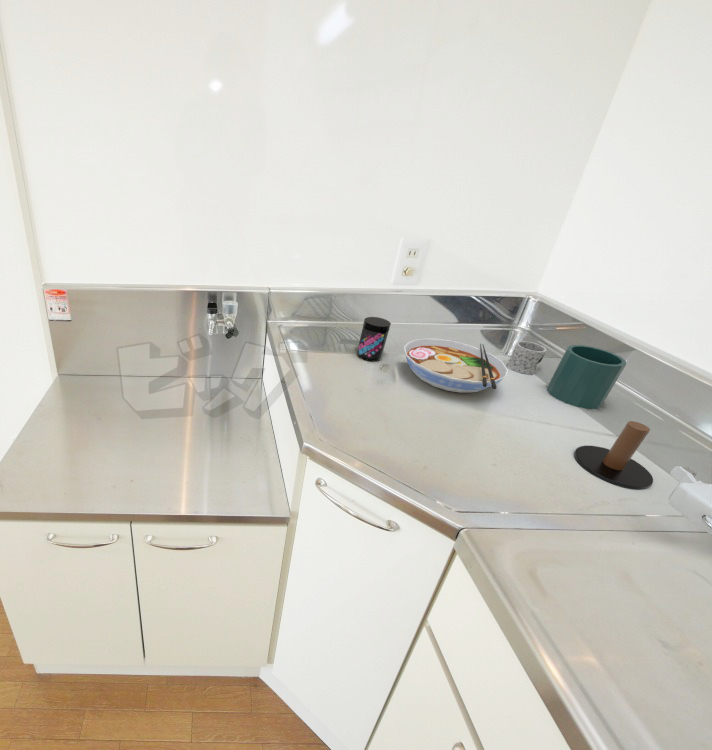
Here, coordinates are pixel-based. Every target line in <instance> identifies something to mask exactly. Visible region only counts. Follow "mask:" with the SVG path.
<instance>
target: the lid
mask: <svg viewBox="0 0 712 750" xmlns="http://www.w3.org/2000/svg"><path fill="white" fill-rule="evenodd" d="M650 431H651V429H650V427H649V426H647V425H646V424H643V423H641V422H638V421H634V420H630V421H627V423H626V424H625V425H624V427H623V429H622V431H621V432H620V434H619V435H618V436H617V438H616V439H615V441H614V442H613V444H612V446H611V447H610V448H606V447H602V446H596V445H580V446H579V447H577V448H576V449H575V450H574V453H573V457H574V459H575V461H576V462H577V464H578V465H580V466H581V467H582V468H583V469H584V470H585V471H587V472H588V473H590V474H591V475H593V476H594V477H597V478H598V479H600V480H603V481H605V482H607V483H609V484H612V485H615V486H618V487H620V488H621V487H622V488H625V489H631V490H646V489H649V488H650V487H651V486H652V485H653V483H654V478H653V476H652V473H650V471H649V470H648V469H647V468H646V467H645V466H643V465H642V464H641V463H639V462H637V461H636V460H634V459H633V456H634V454H635V453H636V451H637V450H638V449H639V447H640V446H641V444H642V443H643V441H644V440H645V439H646V437H647V435H648V434H649V433H650Z"/></svg>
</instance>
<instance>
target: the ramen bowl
mask: <svg viewBox="0 0 712 750" xmlns="http://www.w3.org/2000/svg"><path fill="white" fill-rule="evenodd" d="M482 348H483V349H482ZM403 350H404V354H405V355H404V356H405V359H406V362H407V364H408V366H409V368H410V370H411V371H412V373H414V374H415V375H416V376H417V377H418V378H419V379H420V380H421V381H422V382H425V383H426V384H429V385H430V386H432V387H435V388H437V389H440V390H444V391H447V392H453V393H460V394H462V393H463V394H464V393H468V394H469V393H477V392H481V391H483V390H486V389H489V388H490V387H491V389H492V390H497V387H498V386H497V384H499V383H500V382H502V381H503V380H504V379H505V378H506V377H507V375H508V372H509V369H508V366H507V365H506V364H505V363H504V361H502V360H501V359H500V358H498V357H496V356H495V355H493V354H492V353H490V352H488V351H486V349H485V345H484V344H482V343H479V347H476V346H474V345H470V344H467V343H463V342H460V341H455V340H450V339H444V338H443V339H442V338H437V337H435V338H434V337H433V338H427V337H426V338H425V337H423V338H418V339H413V340H409V341H408V342H407V343H406V344H405V345H404V346H403Z"/></svg>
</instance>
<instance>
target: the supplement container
mask: <svg viewBox="0 0 712 750" xmlns="http://www.w3.org/2000/svg"><path fill="white" fill-rule="evenodd" d="M391 325H392V322H391V321H389V320H387V319H385V318H382V317H380V316H379V317H377V316H368V317H365V318H364V319H363V324H362V329H361V333H360V337H359V341H358V345H357V350H356V354H357V356H358V357H359V358H360V359H361V360H363V361H366V362H367V361H368V362H377V361H380V360H381V359H382V357H383V353H384V350H385V346H386V343H387V339H388V337H389V336H388V335H389V332H390V329H391Z"/></svg>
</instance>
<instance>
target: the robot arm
mask: <svg viewBox="0 0 712 750" xmlns="http://www.w3.org/2000/svg"><path fill="white" fill-rule="evenodd" d="M670 476H671V477H672V478H673V479H675V480H676V481H678V484H677V485H676V487H675V488H674V489H673V491H672V492H671V493H670V495H668V504H669V505H670V506H671V507H672V508H673V509H674V510H675V511H677V512H678V513H680V514H681V515H682V516H683V517H685V518H686V519H687V520H689V521H690V522H692V523H693V524H695V525H696V526H697V527H699V528H700V529H701V530H703V531H705V532H706V533H708V534H709V535H711V536H712V483H704V482H703V481H701V480H697V479H696V478H695V477H696V476H697V472H695V471H694V470H692V469H691V468H690V467H688V466H680V465H679V466H678V465H676V466H674V467H673V468H672V469H671V471H670Z"/></svg>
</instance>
